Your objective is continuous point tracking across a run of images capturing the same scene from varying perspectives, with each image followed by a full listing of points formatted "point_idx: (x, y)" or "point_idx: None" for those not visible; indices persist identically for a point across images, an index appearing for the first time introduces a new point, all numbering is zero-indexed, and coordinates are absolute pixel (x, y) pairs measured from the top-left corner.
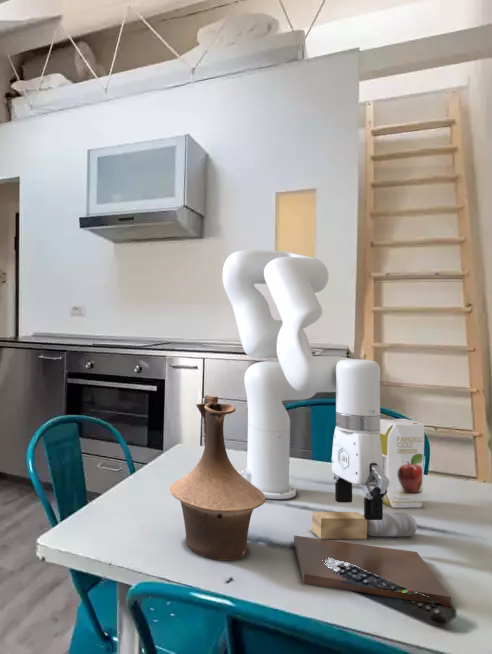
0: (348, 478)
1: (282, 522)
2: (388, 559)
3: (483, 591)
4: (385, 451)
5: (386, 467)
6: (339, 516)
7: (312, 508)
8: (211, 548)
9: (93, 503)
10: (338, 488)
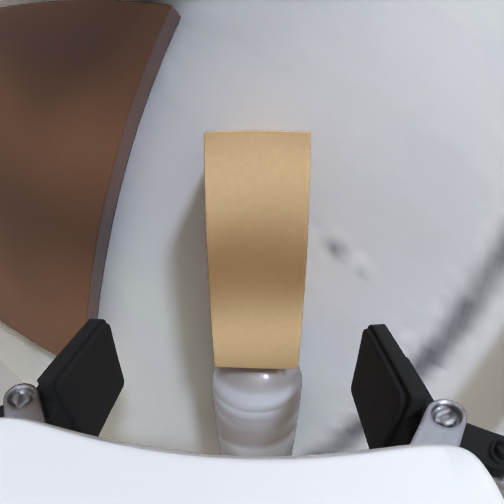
0: (91, 460)
1: (394, 67)
2: (19, 259)
3: (8, 365)
4: None
5: None
6: (233, 253)
7: (496, 274)
8: None
9: None
10: (389, 381)
